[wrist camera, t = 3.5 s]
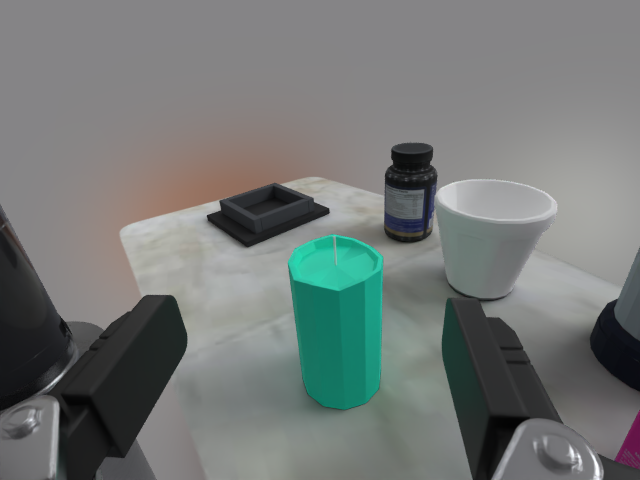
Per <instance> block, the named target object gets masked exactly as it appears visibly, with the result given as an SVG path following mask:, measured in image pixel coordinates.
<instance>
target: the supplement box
mask: <svg viewBox="0 0 640 480" xmlns="http://www.w3.org/2000/svg"><path fill="white" fill-rule="evenodd" d="M615 461H616V462H619V463H622V464H625V465H628V466H631V467H634V468H637V469H640V410H639V412H638V414H637V416H636V418H635V420H634V422H633V424H632V426H631V429H630V430H629V432H628V434H627V436H626V438H625V440H624V443H623V445H622V447H621V449H620V451H619V453H618V455H617V457H616V459H615Z"/></svg>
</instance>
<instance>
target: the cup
mask: <svg viewBox="0 0 640 480" xmlns="http://www.w3.org/2000/svg"><path fill="white" fill-rule="evenodd" d="M434 207H435V209H436V214H437V221H438V227H439V233H440V240H441V246H442V252H443V258H444V265H445V271H446V276H447V279H448V282H449V285H450V286H451V287H452V288H453V289H454V290H456V291H457V292H459V293H461V294H463V295H465V296H467V297H471V298H477V299H479V300H495V299H500V298H504V297H505V296H506V295H507V294H509V293H510V292H511V291H512V290H513V285H514V284H515V282H516V280H517V278H518V276H519V275H520V273H521V271H522V269H523V267H524V266H525V264H526V262H527V260H528V259H529V257H530V255H531V253H532V251H533V250H534V248H535V246H536V244H537V242H538V240H539V238H540V237H541V235H542V233H543V232H545V231H546V230H547V229H548V228H549V227H550V225H551V224H552V223H553V222H554V220H555V217H556V214H557V202H556V201H555V200H554V199H553V198H552V197H551V196H550V195H548V194H547V193H546V192H544V191H541V190H539V189H536V188H534V187H532V186H528V185H524V184H520V183H515V182H511V181H502V180H492V179H477V180H465V181H459V182H454V183H451V184H448V185H446V186H444V187H442V188H440V189H439V191H438V192H437V193H436V195H435V198H434Z"/></svg>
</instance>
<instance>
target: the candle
mask: <svg viewBox="0 0 640 480" xmlns="http://www.w3.org/2000/svg"><path fill="white" fill-rule="evenodd" d="M288 268H289V276H290V284H291V291H292V299H293V307H294V315H295V323H296V331H297V338H298V346H299V354H300V362H301V370H302V377H303V381H304V384H305V387H306V390H307V393H308V395H310V396H311V397H312V398H314V399H315V400H316V401H317V402H319V403H320V404H321V405H322V406H325V407H331V408H337V409H343V410H346V409H349V408H352V407H356V406H359V405H362V404H365V403H367V402H368V400H369V399H370V398H371V397H372V396H373V395H374V394H375V393H376V392H377V391H378V390H379V383H380V375H381V338H382V289H383V256H382V255H381V254H380V253H379V252H378V251H376V250H375V249H374V248H373V247H371V246H369V245H367V244H365V243H363V242H361V241H359V240H357V239H355V238H350V237H345V236H340V235H335V234H331V235H328V236H324V237H321V238H318V239H314V240H311V241H309V242H307V243H305V244H303V245H301V246H299V247H297V248H295V249H294V251H293V253H292V255H291V257H290V259H289V261H288Z"/></svg>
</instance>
